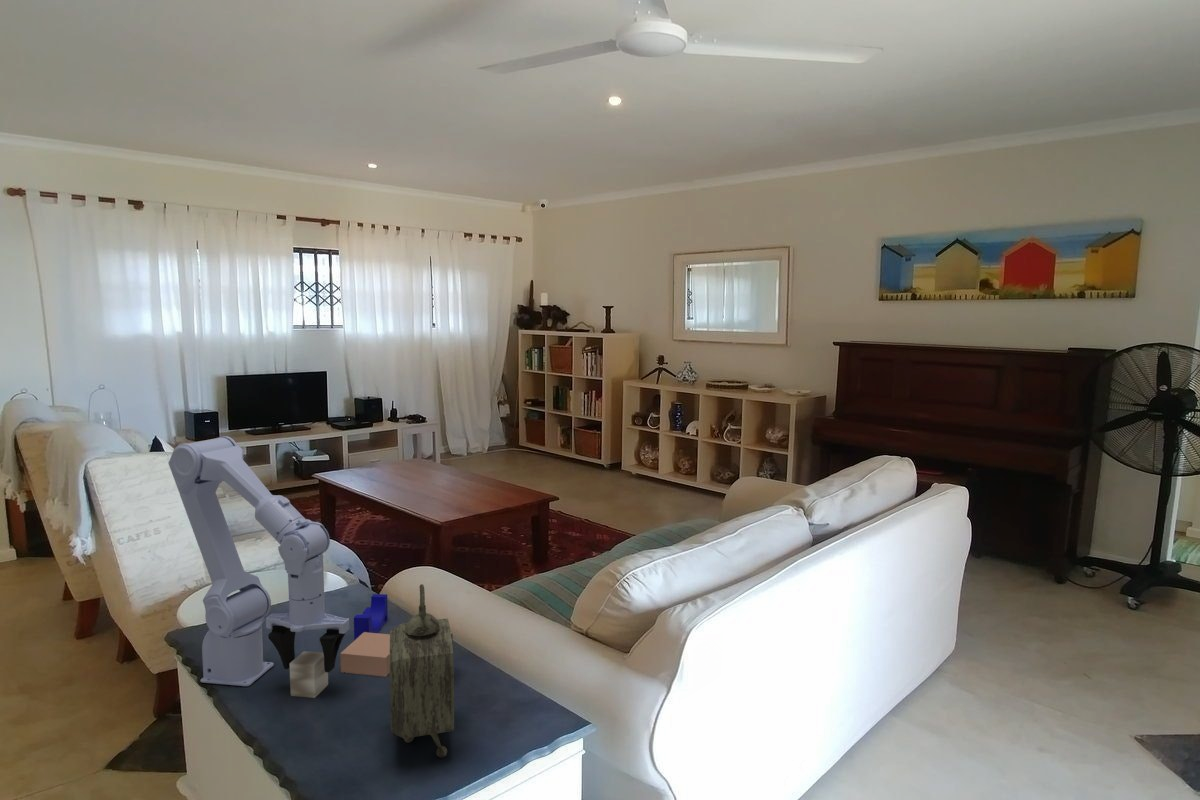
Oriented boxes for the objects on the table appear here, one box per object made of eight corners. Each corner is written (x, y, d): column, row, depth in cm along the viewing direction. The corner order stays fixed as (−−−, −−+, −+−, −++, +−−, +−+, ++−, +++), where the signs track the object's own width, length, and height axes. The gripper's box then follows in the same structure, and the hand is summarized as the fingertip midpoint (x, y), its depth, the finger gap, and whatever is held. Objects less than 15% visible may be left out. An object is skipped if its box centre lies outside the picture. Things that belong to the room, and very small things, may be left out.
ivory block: (290, 695, 120) (289, 663, 119) (304, 682, 125) (303, 651, 124) (315, 698, 120) (313, 665, 119) (328, 684, 124) (327, 653, 123)
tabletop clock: (454, 763, 103) (453, 603, 100) (391, 773, 100) (388, 609, 97) (447, 710, 116) (446, 568, 114) (391, 718, 114) (389, 573, 111)
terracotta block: (340, 673, 128) (340, 653, 128) (364, 651, 137) (363, 632, 137) (386, 678, 127) (385, 657, 127) (406, 655, 136) (406, 635, 135)
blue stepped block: (367, 620, 151) (366, 594, 150) (387, 620, 151) (387, 594, 150) (347, 646, 139) (346, 617, 138) (369, 646, 139) (368, 618, 138)
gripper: (253, 600, 117) (257, 676, 118) (334, 606, 115) (337, 682, 117) (277, 585, 124) (281, 656, 125) (354, 589, 122) (356, 662, 124)
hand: (309, 668), depth 122 cm, fingers open, 7 cm apart
